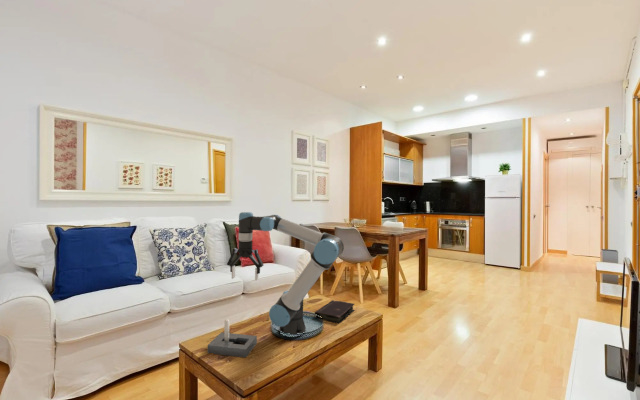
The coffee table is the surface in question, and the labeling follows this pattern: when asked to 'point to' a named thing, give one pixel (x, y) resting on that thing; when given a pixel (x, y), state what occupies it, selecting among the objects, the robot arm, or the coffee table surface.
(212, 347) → the keyhole plate
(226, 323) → the peg
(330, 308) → the diary
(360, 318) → the coffee table surface
